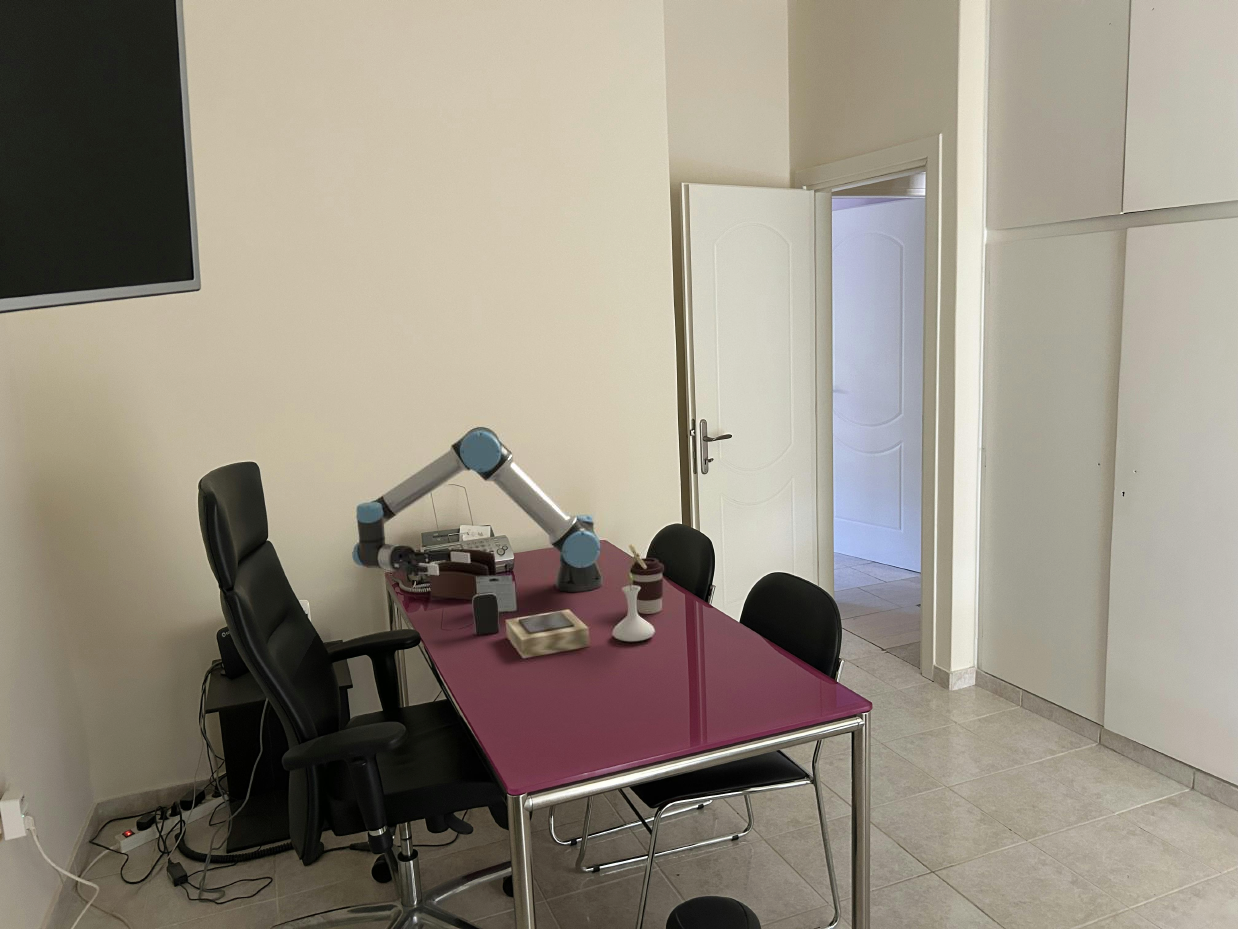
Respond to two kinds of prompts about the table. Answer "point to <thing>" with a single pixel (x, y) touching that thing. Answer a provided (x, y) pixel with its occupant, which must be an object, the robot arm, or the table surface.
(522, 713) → the table surface
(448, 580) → the letter holder
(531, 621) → the stand
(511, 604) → the ink box
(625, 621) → the flower in vase
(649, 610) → the coffee cup
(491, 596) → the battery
